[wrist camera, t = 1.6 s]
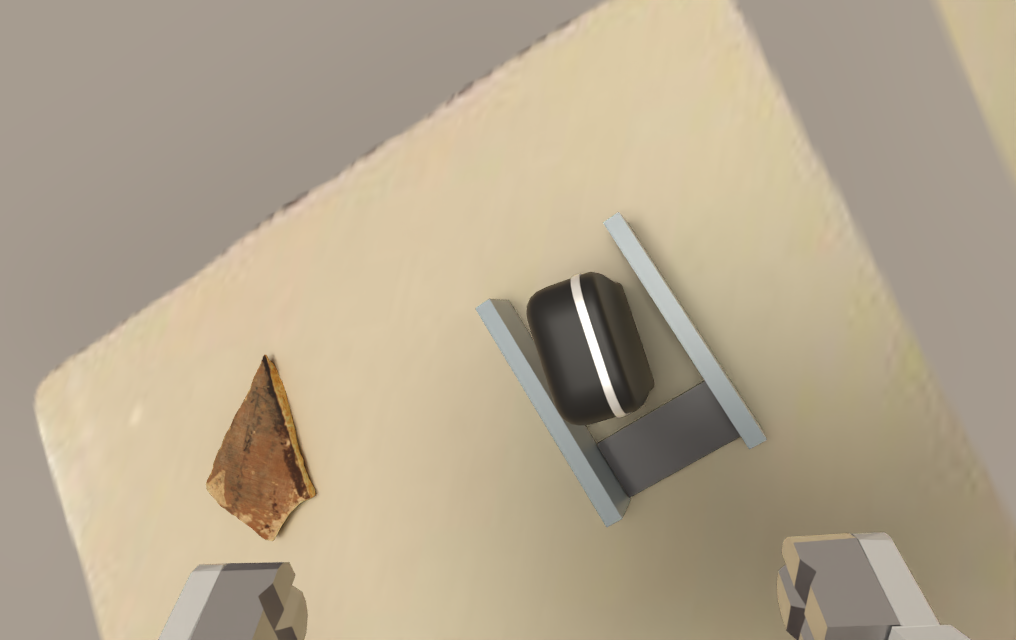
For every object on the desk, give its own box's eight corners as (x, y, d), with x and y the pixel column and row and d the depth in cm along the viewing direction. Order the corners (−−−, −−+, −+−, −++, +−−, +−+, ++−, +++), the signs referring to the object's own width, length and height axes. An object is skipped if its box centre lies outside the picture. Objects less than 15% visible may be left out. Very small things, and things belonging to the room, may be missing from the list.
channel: (627, 221, 41) (618, 212, 37) (761, 427, 39) (767, 439, 35) (495, 308, 43) (475, 308, 39) (616, 507, 41) (606, 527, 37)
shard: (277, 352, 48) (261, 354, 47) (364, 409, 46) (350, 413, 45) (213, 484, 50) (195, 490, 48) (295, 544, 48) (279, 552, 46)
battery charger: (560, 298, 42) (508, 292, 31) (620, 277, 41) (587, 263, 30) (596, 408, 42) (556, 442, 31) (658, 390, 41) (639, 418, 30)
